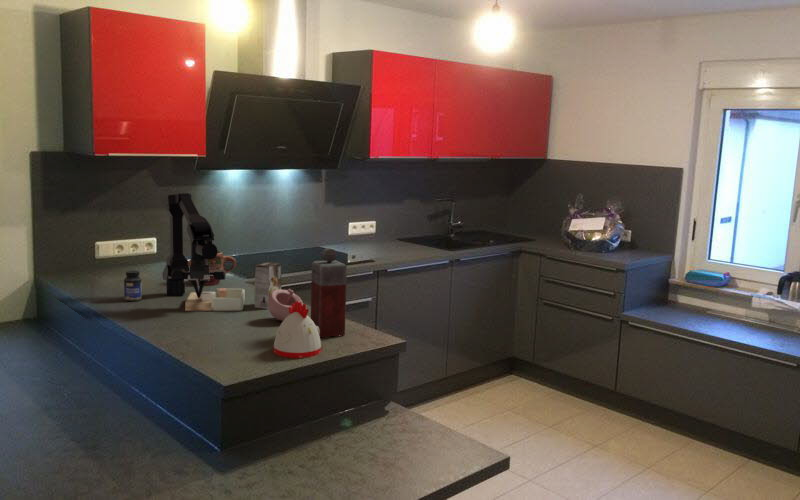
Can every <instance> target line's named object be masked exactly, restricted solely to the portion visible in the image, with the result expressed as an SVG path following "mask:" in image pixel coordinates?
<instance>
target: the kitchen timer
mask: <svg viewBox="0 0 800 500" xmlns="http://www.w3.org/2000/svg"><path fill="white" fill-rule="evenodd" d="M309 310H310V309H309V308H307V304H306V303H303V305H302V303H301V302H299V303H298V301H295V304H292V307H289V312H290V315H289V316H288V317H286V318H285V319H284V321H281V323H280V325H279V327H278V329H277V330H276V332H275V339H274V342H273V353H274V355H276V354H277V356H278V355H279V357H282V356H283V357H282V358H287V357H289V359H304V358H303V357H307V358H311V356H312V357H315V355H316V356H318V355H320V354H321V353H322V341H321V338H320V336H319V333H320V330H319V327H318V326H316V325H315V324H314V322H313V321H312V319H311V316H309V315H308V314H309ZM320 352H321V353H320ZM319 353H320V354H319ZM317 354H318V355H317Z"/></svg>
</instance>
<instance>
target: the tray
mask: <svg viewBox="0 0 800 500" xmlns="http://www.w3.org/2000/svg"><path fill="white" fill-rule="evenodd" d="M219 289H220V288H216V291H215V292H216V298H213V307H212V311H217V312H218V311H219V312H220V311H223V312H224V311H243V309H244V304H245V296H246V295H245V294H246V293H245V289H246V288H226V298H219Z"/></svg>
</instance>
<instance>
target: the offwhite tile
mask: <svg viewBox="0 0 800 500" xmlns="http://www.w3.org/2000/svg"><path fill="white" fill-rule="evenodd" d="M202 292H203V293H202V301H213V298H216V291H202Z"/></svg>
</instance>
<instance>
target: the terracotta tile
mask: <svg viewBox="0 0 800 500" xmlns="http://www.w3.org/2000/svg"><path fill="white" fill-rule="evenodd" d="M218 289H219V298H226V289H227V287H220V288H218Z"/></svg>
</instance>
